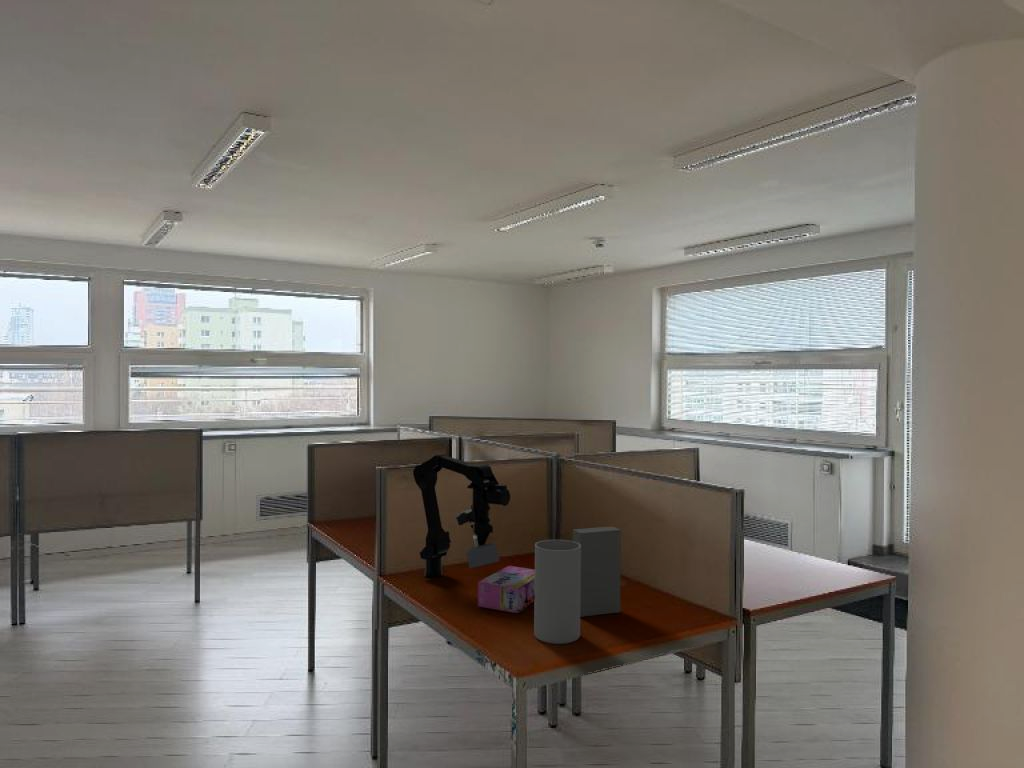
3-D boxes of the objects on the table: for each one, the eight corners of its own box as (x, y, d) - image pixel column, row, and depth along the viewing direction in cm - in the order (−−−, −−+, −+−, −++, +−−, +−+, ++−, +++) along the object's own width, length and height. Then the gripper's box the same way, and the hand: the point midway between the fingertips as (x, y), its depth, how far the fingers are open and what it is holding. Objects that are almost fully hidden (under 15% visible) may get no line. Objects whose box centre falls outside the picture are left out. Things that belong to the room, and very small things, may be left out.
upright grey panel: (610, 606, 220) (611, 525, 220) (620, 612, 214) (621, 529, 214) (570, 611, 215) (571, 528, 215) (579, 618, 209) (580, 533, 209)
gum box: (510, 563, 239) (547, 569, 234) (509, 587, 239) (547, 593, 234) (477, 581, 217) (518, 587, 212) (477, 607, 217) (518, 614, 212)
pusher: (466, 557, 243) (462, 537, 242) (495, 550, 244) (491, 531, 243) (469, 568, 233) (465, 548, 232) (499, 561, 235) (495, 541, 233)
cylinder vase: (577, 628, 201) (577, 539, 201) (582, 645, 188) (583, 550, 188) (532, 628, 200) (533, 539, 200) (535, 645, 188) (536, 550, 188)
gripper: (454, 497, 250) (454, 542, 250) (459, 508, 231) (458, 556, 231) (486, 497, 251) (485, 541, 252) (493, 507, 233) (492, 555, 233)
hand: (480, 548), depth 242 cm, fingers closed on pusher, 3 cm apart
